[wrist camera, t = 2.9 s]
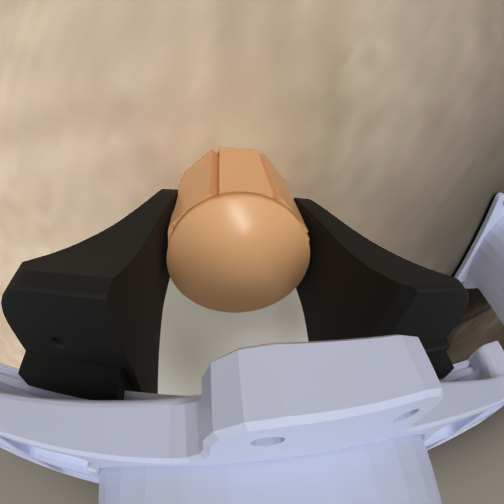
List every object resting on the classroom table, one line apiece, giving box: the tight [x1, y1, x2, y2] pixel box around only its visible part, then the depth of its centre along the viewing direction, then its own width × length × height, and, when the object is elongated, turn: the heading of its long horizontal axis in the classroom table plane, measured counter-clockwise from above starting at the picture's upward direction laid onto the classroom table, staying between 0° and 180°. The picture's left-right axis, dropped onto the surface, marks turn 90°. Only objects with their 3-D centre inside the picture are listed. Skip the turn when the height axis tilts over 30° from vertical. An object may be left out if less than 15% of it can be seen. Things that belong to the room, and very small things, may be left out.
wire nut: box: [166, 148, 310, 313], centre depth 11 cm, size 4×4×4 cm
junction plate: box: [158, 277, 308, 396], centre depth 19 cm, size 22×18×4 cm
